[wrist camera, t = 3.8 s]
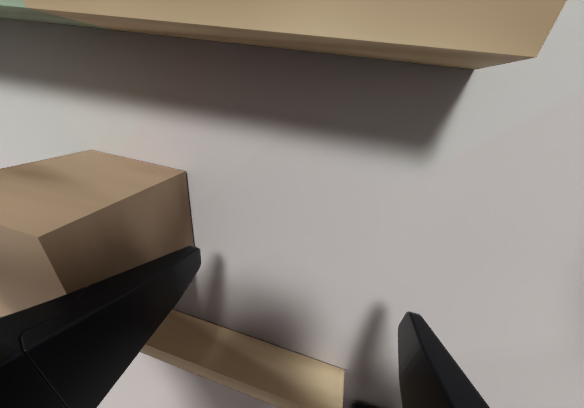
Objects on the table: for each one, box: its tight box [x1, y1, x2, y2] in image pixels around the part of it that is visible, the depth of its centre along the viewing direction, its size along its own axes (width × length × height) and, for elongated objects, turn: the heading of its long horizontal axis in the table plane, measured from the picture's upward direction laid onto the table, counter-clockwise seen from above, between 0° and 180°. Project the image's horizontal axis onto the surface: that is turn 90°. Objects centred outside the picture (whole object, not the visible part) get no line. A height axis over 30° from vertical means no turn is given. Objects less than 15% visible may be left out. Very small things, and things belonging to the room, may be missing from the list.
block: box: [0, 150, 194, 317], centre depth 10 cm, size 6×6×6 cm
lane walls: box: [0, 0, 567, 408], centre depth 10 cm, size 20×24×4 cm
